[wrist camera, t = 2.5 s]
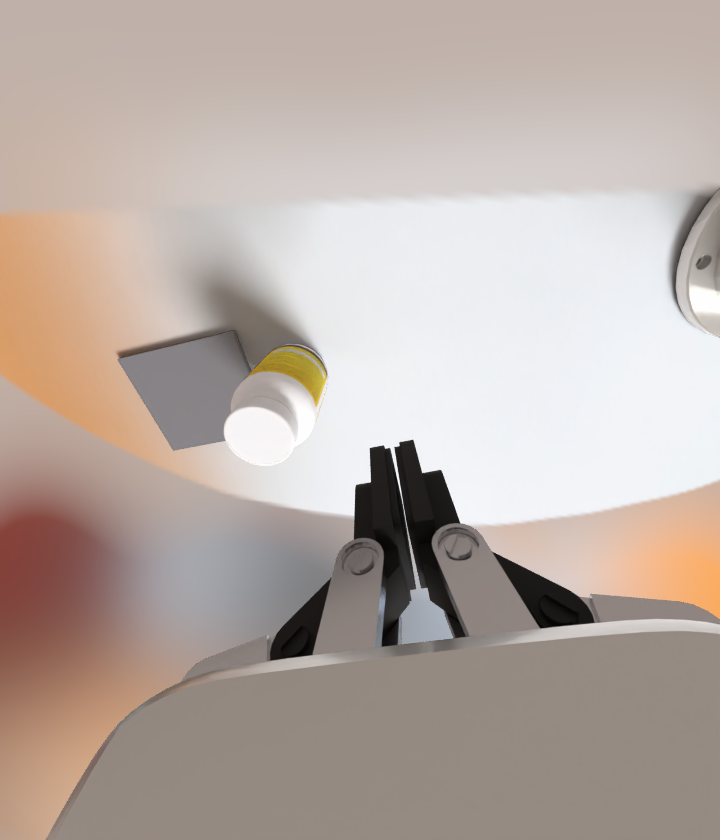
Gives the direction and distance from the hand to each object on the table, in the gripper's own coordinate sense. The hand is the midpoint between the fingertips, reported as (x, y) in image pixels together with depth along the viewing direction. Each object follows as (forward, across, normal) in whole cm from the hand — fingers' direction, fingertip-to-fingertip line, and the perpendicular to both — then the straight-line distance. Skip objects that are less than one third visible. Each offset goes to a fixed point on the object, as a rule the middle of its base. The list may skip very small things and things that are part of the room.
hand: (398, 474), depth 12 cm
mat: (+15, +16, 0) cm, 22 cm away
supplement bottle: (+15, +7, 0) cm, 17 cm away
